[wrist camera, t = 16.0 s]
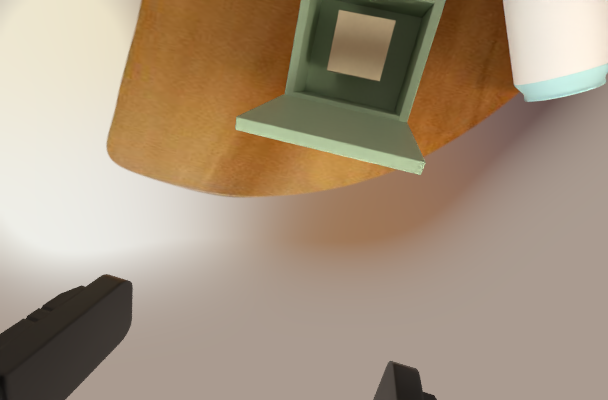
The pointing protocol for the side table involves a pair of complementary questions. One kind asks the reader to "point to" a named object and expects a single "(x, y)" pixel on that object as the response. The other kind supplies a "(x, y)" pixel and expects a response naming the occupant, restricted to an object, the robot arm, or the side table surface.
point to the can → (557, 46)
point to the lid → (335, 131)
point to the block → (360, 45)
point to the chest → (397, 68)
